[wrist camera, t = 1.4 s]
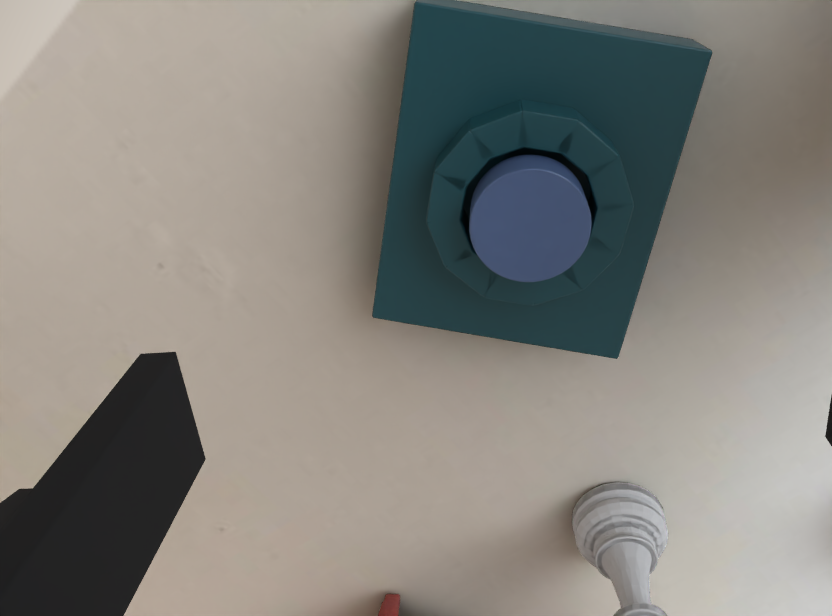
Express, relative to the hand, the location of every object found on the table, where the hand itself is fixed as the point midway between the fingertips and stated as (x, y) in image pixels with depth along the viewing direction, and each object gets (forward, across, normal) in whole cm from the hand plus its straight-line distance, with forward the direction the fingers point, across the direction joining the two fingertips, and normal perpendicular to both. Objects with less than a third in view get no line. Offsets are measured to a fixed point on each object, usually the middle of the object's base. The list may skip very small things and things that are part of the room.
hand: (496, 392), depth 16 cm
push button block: (+17, +1, -1) cm, 17 cm away
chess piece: (+17, +5, -18) cm, 25 cm away
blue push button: (+13, +1, -1) cm, 13 cm away
